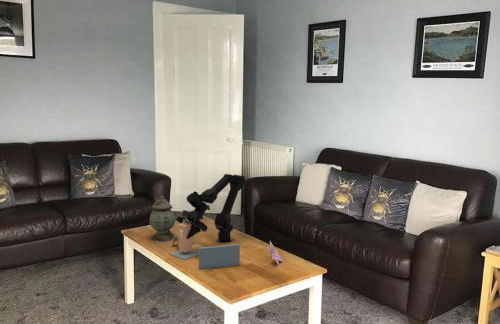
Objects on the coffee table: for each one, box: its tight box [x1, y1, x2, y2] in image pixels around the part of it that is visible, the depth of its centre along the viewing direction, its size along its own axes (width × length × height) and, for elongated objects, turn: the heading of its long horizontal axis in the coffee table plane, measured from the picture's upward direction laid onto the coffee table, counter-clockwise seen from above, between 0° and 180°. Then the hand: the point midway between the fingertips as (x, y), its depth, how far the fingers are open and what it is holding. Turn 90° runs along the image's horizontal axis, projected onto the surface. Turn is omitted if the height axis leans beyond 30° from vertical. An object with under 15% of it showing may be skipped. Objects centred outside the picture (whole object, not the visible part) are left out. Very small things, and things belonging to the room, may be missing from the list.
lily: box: [264, 241, 283, 266], centre depth 227 cm, size 12×12×10 cm
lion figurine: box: [171, 233, 194, 247], centre depth 252 cm, size 15×5×9 cm, turn 133°
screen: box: [198, 243, 241, 270], centre depth 221 cm, size 20×2×10 cm, turn 107°
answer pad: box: [168, 249, 199, 261], centre depth 238 cm, size 12×12×1 cm
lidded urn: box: [149, 195, 176, 242], centre depth 262 cm, size 14×14×25 cm
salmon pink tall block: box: [177, 222, 193, 252], centre depth 236 cm, size 5×5×14 cm
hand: (183, 237), depth 235 cm, fingers closed on salmon pink tall block, 5 cm apart
